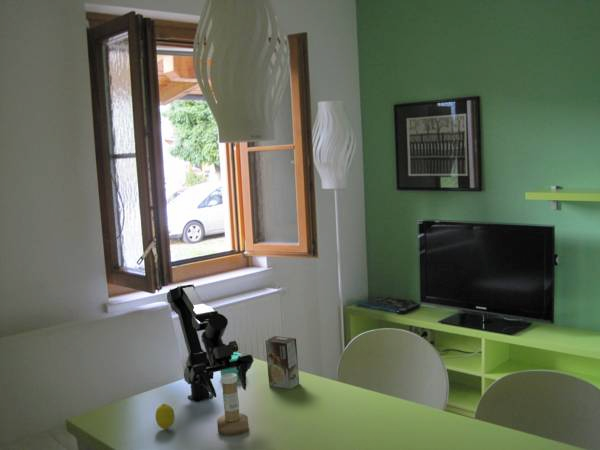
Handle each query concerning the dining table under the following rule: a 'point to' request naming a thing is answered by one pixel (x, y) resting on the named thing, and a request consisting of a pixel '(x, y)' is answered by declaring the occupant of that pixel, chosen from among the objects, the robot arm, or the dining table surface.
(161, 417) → the lemon
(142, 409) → the dining table surface
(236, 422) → the walnut base
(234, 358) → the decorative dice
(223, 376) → the sprinkles bottle
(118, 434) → the dining table surface
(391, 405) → the dining table surface
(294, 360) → the coffee box
